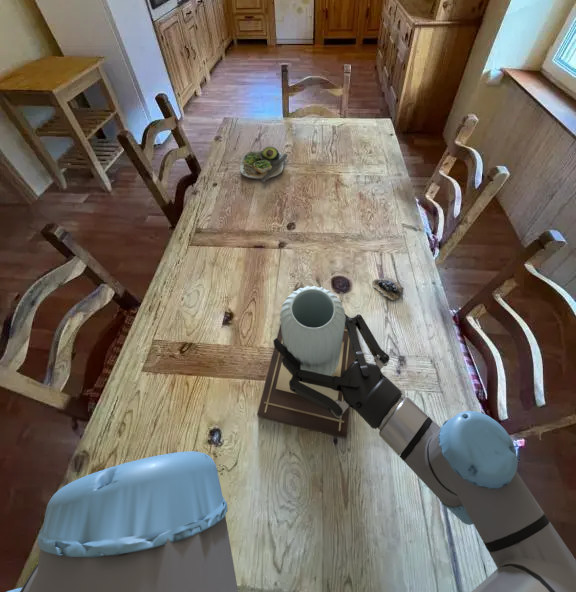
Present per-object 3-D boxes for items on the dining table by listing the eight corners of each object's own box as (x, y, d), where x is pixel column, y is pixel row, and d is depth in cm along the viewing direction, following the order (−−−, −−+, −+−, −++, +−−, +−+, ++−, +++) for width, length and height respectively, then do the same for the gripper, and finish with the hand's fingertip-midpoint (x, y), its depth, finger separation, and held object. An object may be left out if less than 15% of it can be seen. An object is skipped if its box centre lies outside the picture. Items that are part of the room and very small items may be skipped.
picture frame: (346, 439, 66) (346, 437, 65) (257, 417, 70) (256, 414, 68) (356, 325, 83) (357, 322, 82) (284, 311, 86) (284, 308, 85)
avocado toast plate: (285, 185, 122) (285, 175, 119) (236, 185, 123) (234, 175, 120) (288, 153, 136) (287, 143, 132) (243, 154, 137) (242, 144, 133)
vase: (291, 394, 69) (286, 347, 53) (280, 340, 77) (273, 286, 62) (345, 381, 70) (356, 332, 55) (329, 329, 78) (334, 274, 63)
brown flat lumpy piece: (398, 305, 86) (399, 301, 85) (367, 292, 89) (368, 288, 88) (405, 285, 91) (407, 281, 89) (376, 273, 94) (377, 269, 92)
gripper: (340, 479, 53) (253, 371, 65) (425, 370, 64) (337, 295, 76) (343, 470, 47) (248, 355, 59) (436, 353, 58) (340, 275, 70)
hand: (298, 321), depth 67 cm, fingers closed on vase, 11 cm apart
